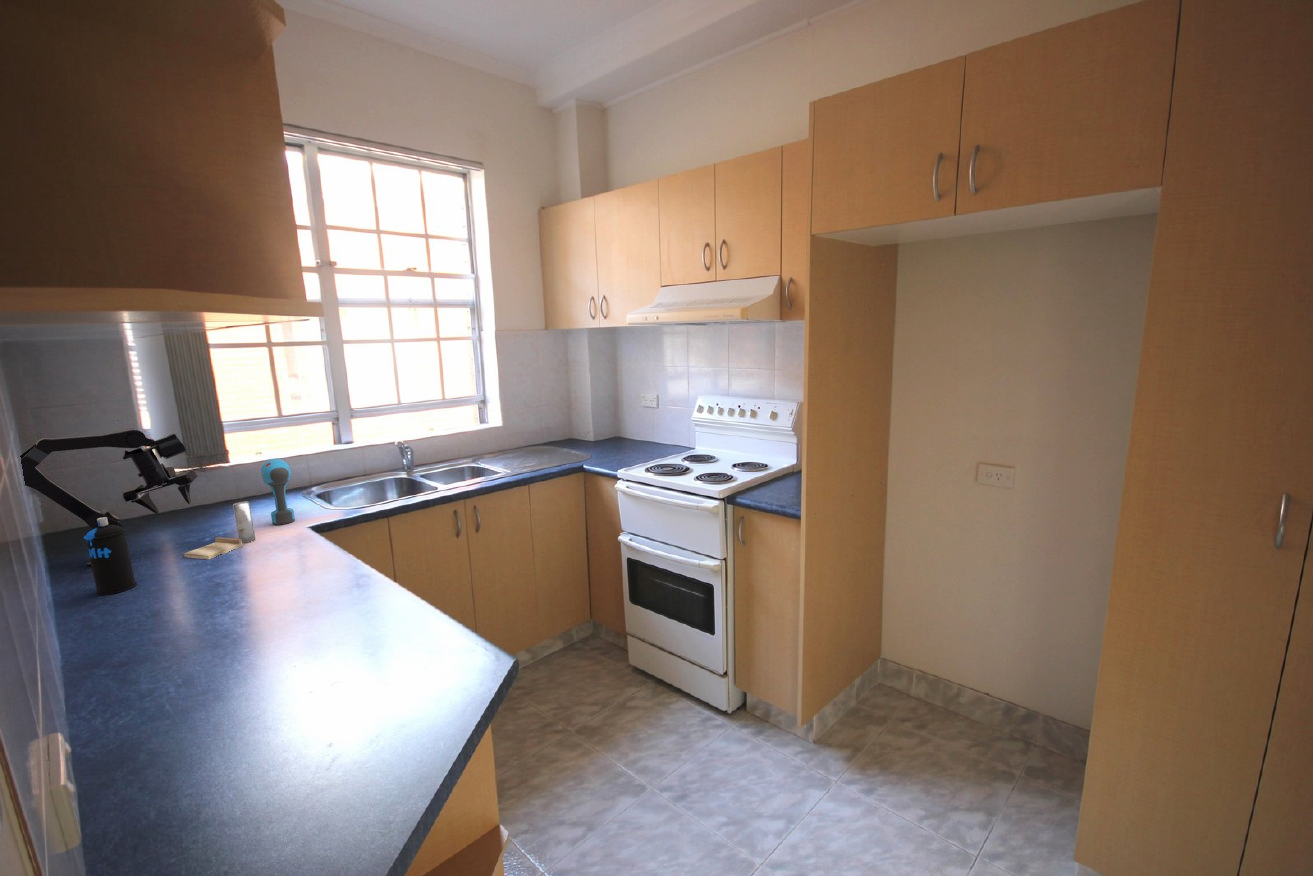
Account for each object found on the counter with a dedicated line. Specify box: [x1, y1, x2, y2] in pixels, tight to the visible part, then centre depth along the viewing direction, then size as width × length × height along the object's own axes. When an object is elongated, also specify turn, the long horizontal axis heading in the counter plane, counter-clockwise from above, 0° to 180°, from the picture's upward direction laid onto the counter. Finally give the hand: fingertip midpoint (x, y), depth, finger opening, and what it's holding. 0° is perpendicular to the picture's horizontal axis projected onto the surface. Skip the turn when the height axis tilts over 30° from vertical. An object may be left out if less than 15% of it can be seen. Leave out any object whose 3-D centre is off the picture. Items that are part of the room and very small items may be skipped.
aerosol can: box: [83, 517, 138, 596], centre depth 156 cm, size 8×8×20 cm
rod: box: [232, 500, 256, 545], centre depth 192 cm, size 4×4×13 cm
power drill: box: [260, 458, 296, 526], centre depth 214 cm, size 28×9×23 cm, turn 40°
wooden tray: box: [183, 536, 244, 560], centre depth 184 cm, size 11×10×3 cm
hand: (173, 508), depth 190 cm, fingers open, 9 cm apart
